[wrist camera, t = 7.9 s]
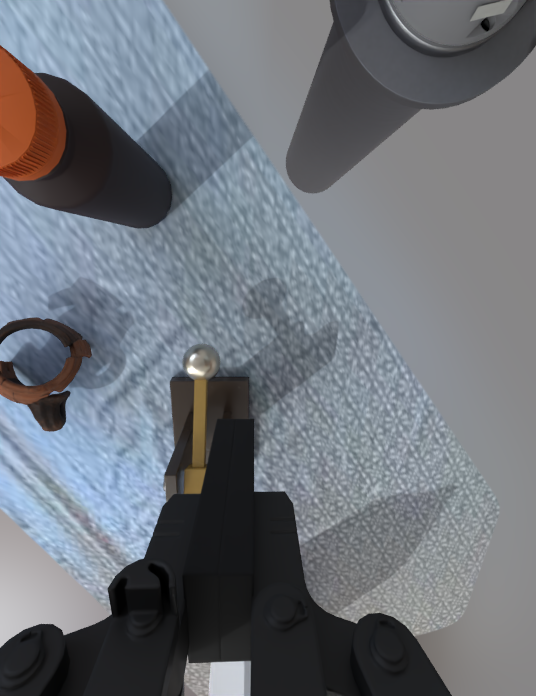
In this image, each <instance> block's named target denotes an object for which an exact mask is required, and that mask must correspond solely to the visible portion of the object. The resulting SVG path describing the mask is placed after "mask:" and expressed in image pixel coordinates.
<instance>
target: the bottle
mask: <svg viewBox="0 0 536 696" xmlns="http://www.w3.org/2000/svg"><path fill="white" fill-rule="evenodd" d="M0 176H2V177H3V178H4V179H5V180H6V181H7V182H8V183H9V184H10V185H11V186H12V187H13V188H14V189H15V190H16V191H17V192H18V193H19V194H21V195H22V196H24V197H26V198H27V199H29V200H31V201H32V202H34V203H36V204H38V205H40V206H44V207H48V208H52V209H55V210H59V211H64V212H68V213H73V214H77V215H81V216H86V217H90V218H94V219H99V220H103V221H108V222H112V223H116V224H121V225H125V226H129V227H134V228H149V227H151V226H154V225H156V224H158V223H159V222H160V221H161V220H162V219H163V218H164V217H165V216H166V214H167V212H168V210H169V209H170V205H171V199H172V192H171V185H170V182H169V180H168V178H167V175H166V173H165V172H164V171H163V169H162V168H161V167H160V166H159V165H158V163H157V162H155V161H154V160H153V159H152V158H151V157H150V156H149V155H148V154H147V153H146V152H145V151H144V150H143V149H142V148H141V147H140V146H139V145H138V144H137V143H136V142H135V141H134V140H133V139H132V138H131V137H130V136H129V135H128V134H127V133H126V132H125V131H124V130H123V129H122V128H121V127H120V126H119V125H118V124H116V123H115V122H114V121H113V120H112V119H111V118H110V117H109V116H108V115H107V114H106V113H105V112H104V111H103V110H102V109H101V108H100V107H99V106H98V105H97V104H96V103H95V102H94V101H93V100H92V99H91V98H90V97H89V96H88V95H87V94H86V93H84V92H83V91H81V90H80V89H78V88H77V87H75V86H74V85H72V84H71V83H70V82H68V81H67V80H65V79H62V78H59V77H55V76H52V75H49V74H46V73H33V72H32V71H31V70H30V69H29V68H27V67H26V66H25V65H24V64H22V63H21V62H20V61H19V60H18V59H16V58H15V57H14V56H13V55H12V54H11V53H9V52H8V51H7V50H6V49H5V48H3V47H2V46H0Z"/></svg>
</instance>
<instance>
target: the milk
mask: <svg viewBox="0 0 536 696" xmlns="http://www.w3.org/2000/svg"><path fill="white" fill-rule="evenodd" d="M250 687H251V661H237V662H211V667H210V682H209V696H250Z"/></svg>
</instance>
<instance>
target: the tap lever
mask: <svg viewBox="0 0 536 696" xmlns="http://www.w3.org/2000/svg"><path fill="white" fill-rule="evenodd" d="M220 363H221V362H220V356H219V354H218V352H217V351H216V350H215V349H214V348H213V347H211V346H209V345H207V344H197V345H194V346H192V347H190V348H189V349H188V350H187V351H186V353H185V354H184V357H183V361H182V364H183V369H184V371H185V373H186V374H187V375H188V376H189V377H190V378H191V379H193V380H195V385H194V420H193V455H192V464H189V465H188V467H187V468H186V469H185V470H184V494H201V489H202V485H203V480H204V476H205V471H206V467H207V464H206V431H207V387H208V380H209V379H211V378H213V377H214V376H215V375H216V374H217V373H218V371H219V368H220Z"/></svg>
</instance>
